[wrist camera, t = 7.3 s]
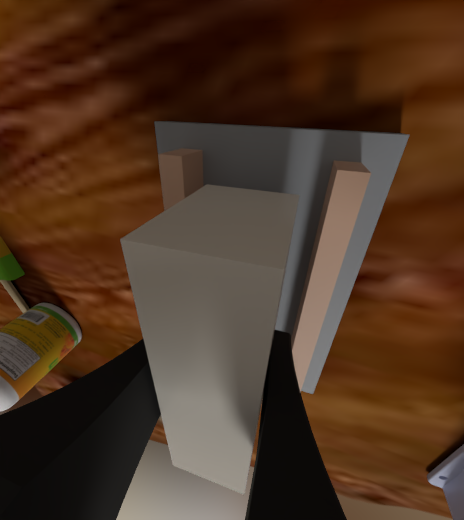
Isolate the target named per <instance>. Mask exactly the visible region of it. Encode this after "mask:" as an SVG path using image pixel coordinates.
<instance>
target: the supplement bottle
mask: <svg viewBox="0 0 464 520" xmlns="http://www.w3.org/2000/svg"><path fill="white" fill-rule="evenodd" d="M81 337H82V333H81V329H80V327H79V325H78V324H77V322H76V321H75V320H74V319H73V318H72V317H71V316H70V315H69V314H68V313H67V312H65V311H64V310H63V309H61V308H59V307H57V306H55V305H53V304H50V303H40V304H37V305H35V306H34V307H32V308H31V309H29V310H28V311H26V312H25V313H23V314H22V315H20V316H19V317H17V318H16V319H14V320H13V321H12V322H10V323H9V324H7V325H6V326H4V327H3V328H1V329H0V411H4V410H6V409H8V408H10V407H11V406H13V405H14V404H15V403H16V402H17V401H18V400H19V399H20V398H22V397H23V396H24V395H25V394H26V393H27V392H28V391H29V390H30V389H31V388H32V387H33V386H34V385H35V384H36V383H37V382H38V381H39V380H40V379H41V378H43V377H44V376H45V375H46V374H47V373H48V372H49V371H50V370H51V369H52V368H53V367H54V366H55V365H56V364H57V363H58V362H59V361H60V360H61V359H62V358H63V357H64V356H65V355H66V354H68V353H69V352H70V351H71V350H72V349H73V348H74V347H75V346H76V345H77V344H78V343H79V342H80V340H81Z"/></svg>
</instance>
